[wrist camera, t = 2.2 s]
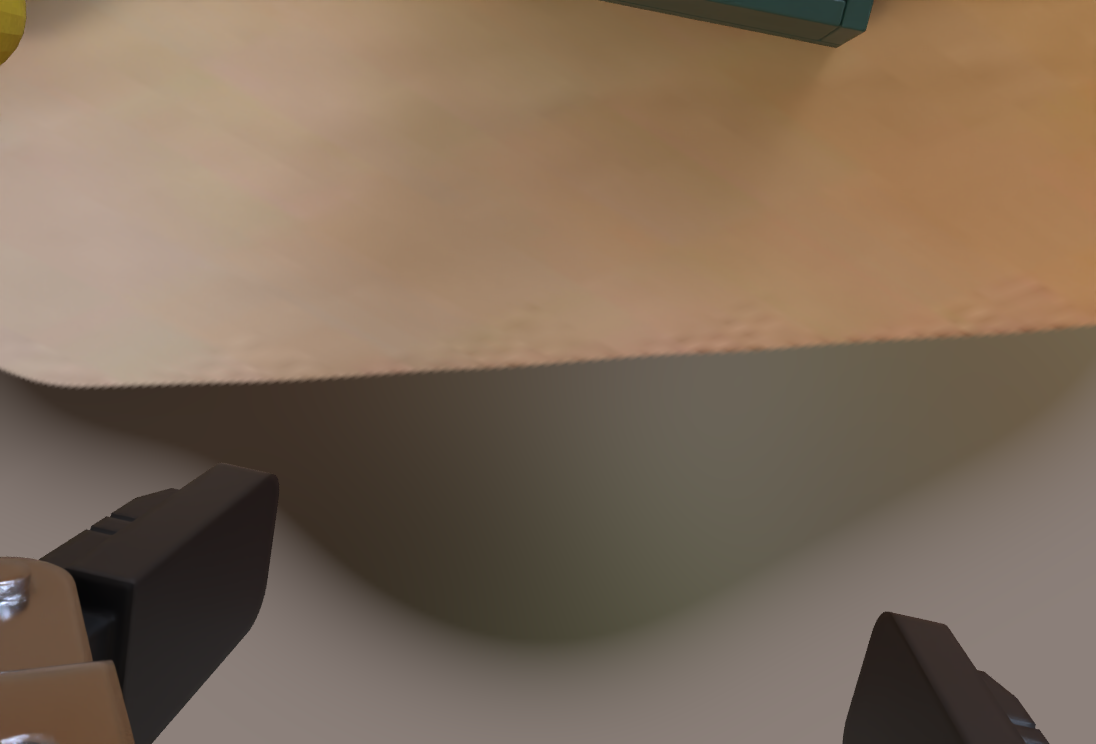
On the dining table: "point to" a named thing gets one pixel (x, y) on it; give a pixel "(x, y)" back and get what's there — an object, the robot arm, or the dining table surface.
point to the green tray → (774, 16)
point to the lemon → (11, 26)
